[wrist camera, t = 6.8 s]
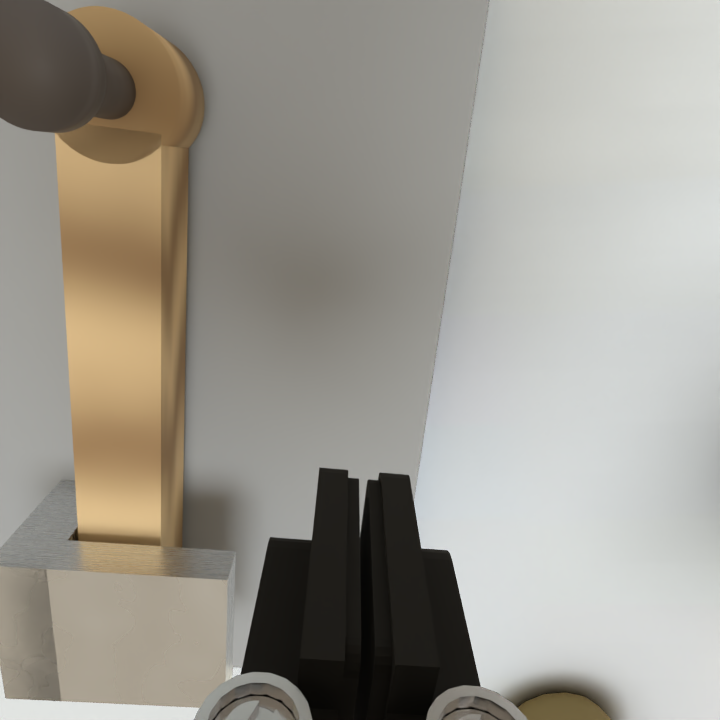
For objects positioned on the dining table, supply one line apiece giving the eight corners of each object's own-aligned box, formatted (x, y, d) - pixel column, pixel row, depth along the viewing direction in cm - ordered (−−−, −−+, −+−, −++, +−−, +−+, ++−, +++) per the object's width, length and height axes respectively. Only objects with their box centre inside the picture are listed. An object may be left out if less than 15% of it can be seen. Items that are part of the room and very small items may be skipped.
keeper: (61, 479, 23) (-16, 565, 18) (252, 492, 24) (227, 580, 19) (72, 592, 25) (5, 698, 20) (248, 603, 26) (224, 708, 21)
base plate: (-95, -91, 18) (-133, -113, 17) (483, -20, 19) (494, -35, 18) (10, 629, 28) (-7, 654, 27) (385, 650, 29) (387, 675, 28)
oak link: (78, 22, 18) (-86, -64, 11) (206, 40, 18) (122, -33, 11) (103, 598, 25) (15, 756, 19) (192, 605, 25) (137, 763, 19)
